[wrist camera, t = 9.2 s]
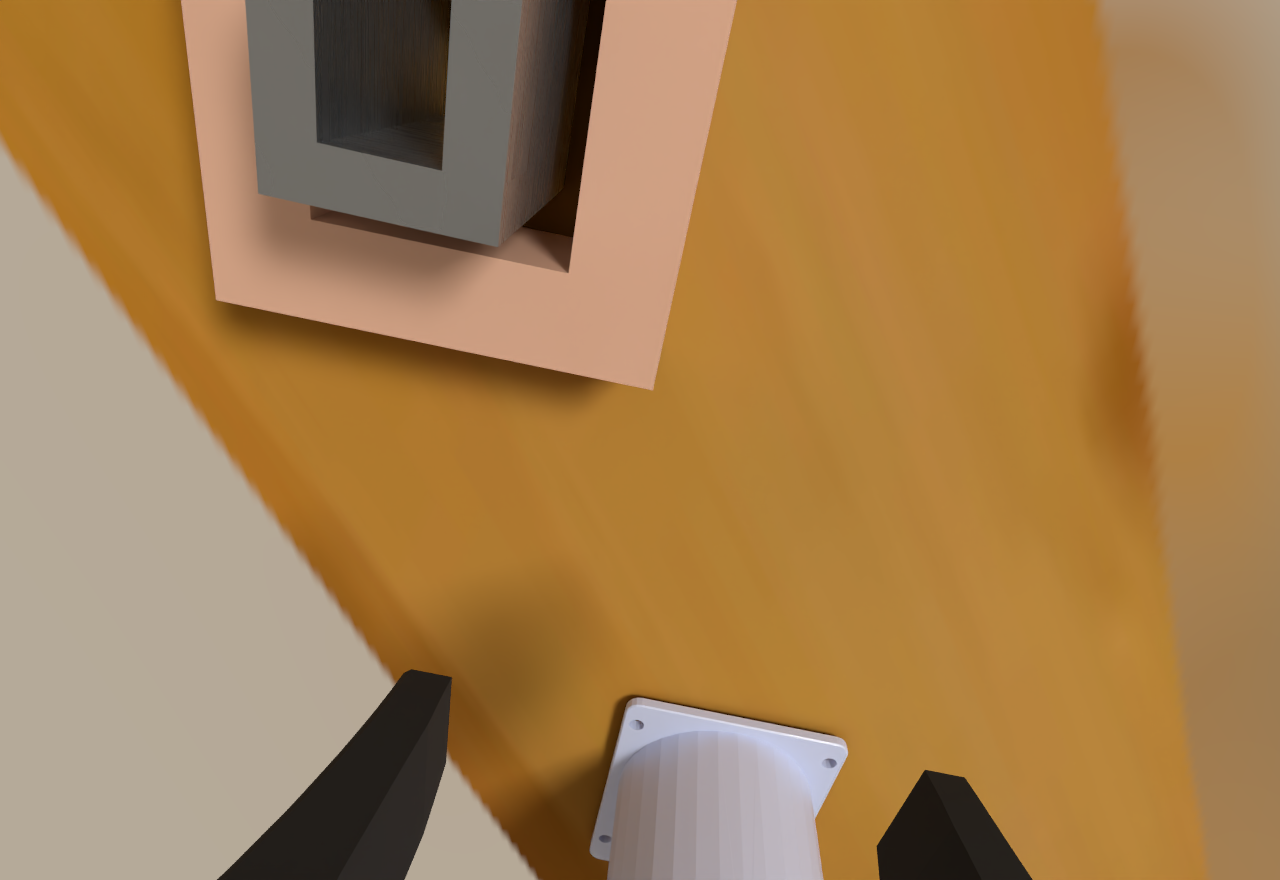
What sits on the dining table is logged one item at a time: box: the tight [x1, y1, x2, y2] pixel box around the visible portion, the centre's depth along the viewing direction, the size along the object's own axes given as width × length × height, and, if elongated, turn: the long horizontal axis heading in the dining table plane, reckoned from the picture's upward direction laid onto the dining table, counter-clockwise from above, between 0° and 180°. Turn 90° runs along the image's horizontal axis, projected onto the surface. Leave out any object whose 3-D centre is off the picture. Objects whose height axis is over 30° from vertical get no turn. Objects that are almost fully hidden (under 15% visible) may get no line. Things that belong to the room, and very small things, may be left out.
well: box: [181, 0, 737, 390], centre depth 15 cm, size 10×10×3 cm
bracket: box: [245, 0, 590, 247], centre depth 13 cm, size 4×4×6 cm
